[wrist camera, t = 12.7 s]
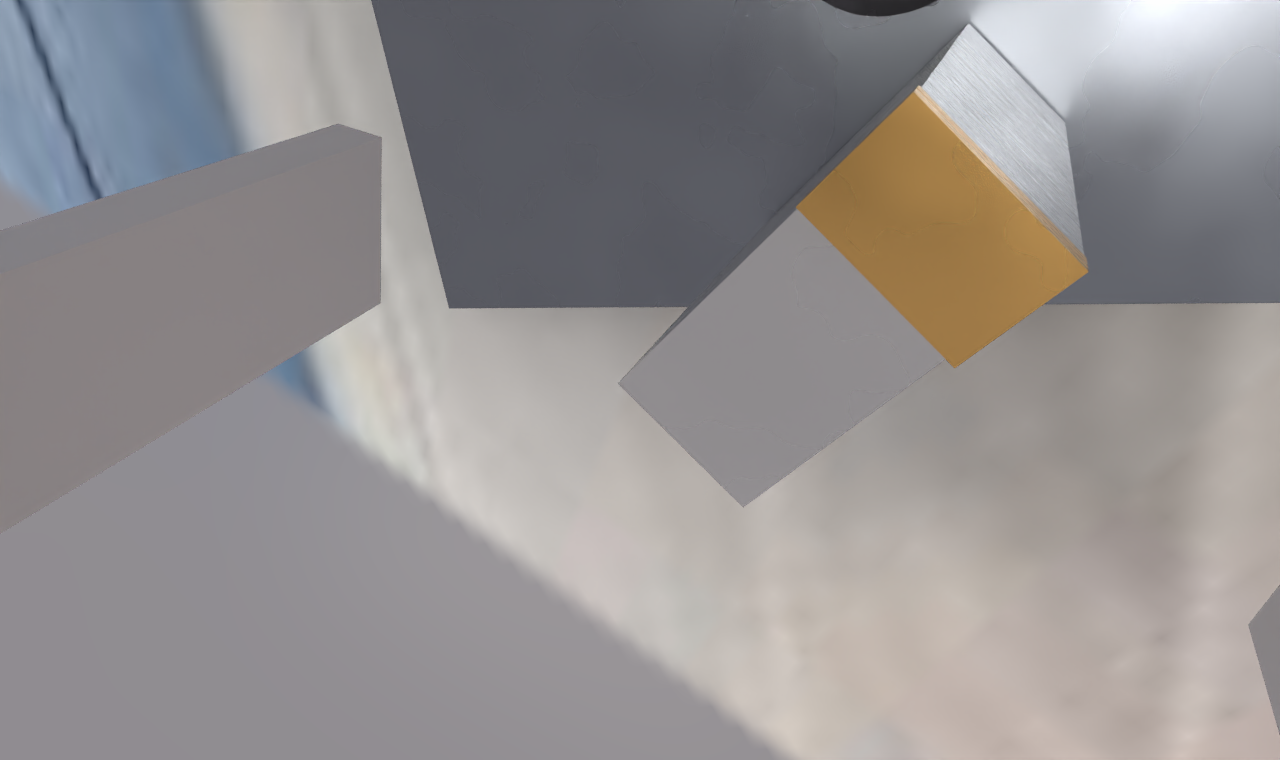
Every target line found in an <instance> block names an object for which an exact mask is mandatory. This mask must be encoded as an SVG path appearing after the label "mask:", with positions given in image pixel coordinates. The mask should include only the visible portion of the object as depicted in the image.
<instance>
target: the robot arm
mask: <svg viewBox="0 0 1280 760" xmlns="http://www.w3.org/2000/svg"><path fill="white" fill-rule="evenodd" d="M381 158H382V138H381V137H378V136H375V135H372V134H369V133H366V132H362V131H359V130H356V129H353V128H350V127H347V126H344V125H340V124H336V125H333V126H330V127H326V128H323V129H320V130H317V131H314V132H311V133H307V134H304V135H301V136H298V137H295V138H292V139H288V140H285V141H282V142H279V143H276V144H273V145H269V146H266V147H263V148H260V149H257V150H254V151H250V152H247V153H244V154H241V155H238V156H235V157H231V158H228V159H225V160H222V161H219V162H216V163H212V164H209V165H206V166H203V167H200V168H197V169H193V170H190V171H187V172H184V173H181V174H178V175H174V176H171V177H168V178H165V179H162V180H159V181H155V182H152V183H149V184H146V185H143V186H140V187H136V188H133V189H130V190H127V191H124V192H121V193H117V194H114V195H111V196H108V197H105V198H102V199H98V200H95V201H92V202H89V203H86V204H83V205H79V206H76V207H73V208H70V209H67V210H64V211H60V212H57V213H54V214H51V215H48V216H45V217H41V218H38V219H35V220H32V221H29V222H26V223H22V224H20V225H16V226H13V227H10V228H7V229H4V230H0V534H1V533H3V532H4V531H6V530H7V529H9V528H11V527H12V526H14V525H16V524H17V523H19V522H20V521H22V520H24V519H25V518H27V517H29V516H30V515H32V514H34V513H35V512H37V511H39V510H40V509H42V508H44V507H45V506H47V505H49V504H50V503H52V502H54V501H55V500H57V499H58V498H60V497H62V496H63V495H65V494H67V493H68V492H70V491H72V490H73V489H75V488H76V487H78V486H80V485H82V484H83V483H85V482H87V481H88V480H90V479H91V478H93V477H95V476H96V475H98V474H100V473H101V472H103V471H104V470H106V469H108V468H109V467H111V466H113V465H115V464H116V463H118V462H119V461H121V460H123V459H124V458H126V457H128V456H129V455H131V454H132V453H134V452H136V451H138V450H139V449H141V448H143V447H144V446H146V445H147V444H149V443H151V442H152V441H154V440H156V439H157V438H159V437H160V436H162V435H164V434H166V433H167V432H169V431H171V430H172V429H174V428H175V427H177V426H179V425H180V424H182V423H184V422H185V421H187V420H189V419H190V418H192V417H194V416H195V415H197V414H199V413H200V412H202V411H203V410H205V409H207V408H208V407H210V406H212V405H213V404H215V403H217V402H218V401H220V400H222V399H223V398H225V397H227V396H228V395H230V394H231V393H233V392H235V391H236V390H238V389H240V388H241V387H243V386H244V385H246V384H248V383H250V382H251V381H253V380H254V379H256V378H258V377H259V376H261V375H263V374H264V373H266V372H268V371H269V370H271V369H273V368H274V367H276V366H278V365H279V364H281V363H282V362H284V361H286V360H287V359H289V358H291V357H292V356H294V355H296V354H297V353H299V352H301V351H302V350H304V349H306V348H307V347H309V346H310V345H312V344H314V343H315V342H317V341H319V340H320V339H322V338H324V337H325V336H327V335H329V334H330V333H332V332H334V331H335V330H337V329H338V328H340V327H342V326H343V325H345V324H347V323H348V322H350V321H352V320H353V319H355V318H357V317H358V316H360V315H362V314H363V313H365V312H366V311H368V310H370V309H371V308H373V307H375V306H376V305H378V304H380V303H381ZM1248 626H1249V629H1250V633H1251V636H1252V639H1253V643H1254V646H1255V650H1256V653H1257V657H1258V660H1259V664H1260V667H1261V671H1262V674H1263V678H1264V681H1265V685H1266V688H1267V692H1268V695H1269V699H1270V702H1271V706H1272V709H1273V713H1274V716H1275V720H1276V723H1277V727H1278V730H1279V734H1280V585H1279V586H1278V588H1277V589H1276V590H1275V591H1274V593H1273V594H1272V595H1271V597H1270V598H1269V599H1268V600H1267V602H1266V603H1265V604H1264V605H1263V607H1262V608H1261V609H1260V611H1259V612H1258V613H1257V614H1256V616H1255V617H1254V618H1253V619H1252V621H1251V622H1250V623H1249V624H1248Z"/></svg>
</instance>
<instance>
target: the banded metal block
mask: <svg viewBox="0 0 1280 760" xmlns="http://www.w3.org/2000/svg"><path fill="white" fill-rule="evenodd" d="M1088 272H1089V270H1088V264H1087V258H1086V257H1085V256H1084V251H1083V244H1082V237H1081V230H1080V223H1079V216H1078V210H1077V203H1076V196H1075V189H1074V182H1073V175H1072V168H1071V161H1070V154H1069V147H1068V140H1067V133H1066V126H1065V122H1064V121H1063V120H1062V119H1061V118H1060V117H1059V116H1058V115H1057V114H1056V113H1055V112H1054V111H1053V110H1052V109H1051V108H1050V107H1049V106H1048V105H1047V104H1046V103H1045V101H1044V100H1043V99H1042V98H1041V97H1040V96H1039V95H1038V94H1037V93H1036V92H1035V91H1034V90H1033V89H1032V88H1031V87H1030V86H1029V85H1028V84H1027V83H1026V82H1025V81H1024V80H1023V79H1022V78H1021V77H1020V76H1019V75H1018V73H1017V72H1016V71H1015V70H1014V69H1013V68H1012V67H1011V66H1010V65H1009V64H1008V63H1007V62H1006V61H1005V60H1004V59H1003V58H1002V57H1001V56H1000V55H999V54H998V53H997V52H996V51H995V50H994V49H993V48H992V47H991V45H990V44H989V43H988V42H987V41H986V40H985V39H984V38H983V37H982V36H981V35H980V34H979V33H978V32H977V31H976V30H975V29H974V28H973V27H972V26H971V25H970V24H969V23H968V24H967V25H966V26H965V27H964V28H963V29H962V30H961V31H960V32H959V33H958V34H957V35H956V36H955V37H954V38H953V39H952V40H951V41H950V42H949V43H948V44H947V45H946V46H945V47H944V48H943V49H942V50H941V51H940V52H939V53H938V54H937V55H936V56H935V57H934V58H933V59H932V60H931V61H930V62H929V63H928V64H927V65H926V66H925V67H924V68H923V69H922V70H921V71H920V72H919V73H917V74H916V75H915V76H914V77H913V78H912V79H911V80H910V81H909V82H908V83H907V84H906V85H905V86H904V87H903V88H902V89H901V90H900V91H899V92H898V93H897V94H896V95H895V96H894V97H893V98H892V99H891V100H890V101H889V102H888V103H887V104H886V105H885V106H884V107H883V108H882V109H881V110H880V111H879V112H878V113H877V114H876V115H875V116H874V117H873V118H872V119H871V120H870V121H869V122H868V123H867V124H866V125H865V126H864V127H863V128H862V129H861V130H860V131H859V132H858V133H857V134H856V135H855V136H854V137H853V138H852V139H851V140H850V141H849V142H848V143H847V144H846V145H845V146H844V147H843V148H842V149H841V150H840V151H839V152H838V153H837V154H836V155H835V156H834V157H833V158H832V159H831V160H830V161H829V162H828V163H826V164H825V165H824V166H823V167H822V168H821V169H820V170H819V171H818V172H817V173H816V174H815V175H814V176H813V177H812V178H811V179H810V180H809V181H808V182H807V183H806V184H805V185H804V186H803V187H802V188H801V189H800V190H799V191H798V192H797V193H796V194H795V195H794V196H793V197H792V198H791V199H790V200H789V201H788V202H787V203H786V204H785V205H784V206H783V207H782V208H781V209H780V210H779V211H778V212H777V213H776V214H775V215H774V216H773V217H772V218H771V219H770V220H769V221H768V222H767V223H766V224H765V225H764V226H763V227H762V228H761V229H760V230H759V231H758V232H757V233H756V234H755V235H754V237H753V238H752V239H751V240H750V241H749V242H748V243H747V244H746V245H745V246H744V247H743V248H742V250H741V251H740V252H739V253H738V254H737V255H736V256H735V257H734V258H733V259H732V260H731V261H730V263H729V264H728V265H727V266H726V267H725V268H724V269H723V270H722V271H721V272H720V273H719V274H718V276H717V277H716V278H715V279H714V280H713V281H712V282H711V283H710V284H709V285H708V286H707V287H706V289H705V290H704V291H703V292H702V293H701V294H700V295H699V296H698V297H697V298H696V299H695V300H694V302H693V303H692V304H691V305H690V306H689V307H688V308H687V309H686V310H685V311H684V312H683V313H682V315H681V316H680V317H679V318H678V319H677V320H676V321H675V322H674V323H673V324H672V325H671V327H670V328H669V329H668V330H667V331H666V332H665V333H664V334H663V335H662V336H661V337H660V338H659V340H658V341H657V342H656V343H655V344H654V345H653V346H652V347H651V348H650V349H649V350H648V351H647V353H646V354H645V355H644V356H643V357H642V358H641V359H640V360H639V361H638V362H637V363H636V364H635V366H634V367H633V368H632V369H631V370H630V371H629V372H628V373H627V374H626V375H625V376H624V377H623V379H622V380H621V381H620V382H619V383H618V384H619V385H620V386H621V387H622V388H623V389H624V390H625V391H626V392H627V393H628V394H629V395H630V396H631V397H632V398H633V399H634V400H635V401H636V402H637V403H638V404H639V405H640V406H641V407H642V408H643V409H644V410H645V411H646V412H647V413H649V414H650V415H651V416H652V417H653V418H654V419H655V420H656V421H657V422H658V423H659V424H660V425H661V426H662V427H663V428H664V429H665V430H666V431H667V432H668V433H669V434H670V435H671V436H672V437H673V438H674V439H675V440H676V441H677V442H678V443H679V444H680V445H681V446H682V447H683V448H684V449H685V450H686V451H687V452H688V453H689V454H690V455H691V456H692V457H693V458H694V459H695V460H696V461H697V462H698V463H699V464H700V465H701V466H702V467H703V468H704V469H705V470H706V471H707V472H708V473H709V474H710V475H711V476H712V477H713V478H714V479H715V480H716V481H717V482H718V483H719V484H720V485H721V486H722V487H723V488H724V489H725V490H726V491H727V492H728V493H729V494H730V495H731V496H732V497H733V498H734V499H735V500H736V501H737V502H738V503H739V504H740V505H741V506H742V507H744V506H746V505H747V504H748V503H750V502H751V501H752V500H754V499H755V498H757V497H758V496H759V495H761V494H762V493H763V492H765V491H766V490H767V489H769V488H770V487H772V486H773V485H774V484H776V483H777V482H778V481H780V480H781V479H782V478H784V477H785V476H787V475H788V474H789V473H791V472H792V471H793V470H795V469H796V468H797V467H799V466H800V465H802V464H803V463H804V462H806V461H807V460H808V459H810V458H811V457H812V456H814V455H815V454H817V453H818V452H819V451H821V450H822V449H823V448H825V447H826V446H827V445H829V444H830V443H832V442H833V441H834V440H836V439H837V438H838V437H840V436H841V435H843V434H844V433H845V432H847V431H848V430H849V429H851V428H852V427H853V426H855V425H856V424H858V423H859V422H860V421H862V420H863V419H864V418H866V417H867V416H868V415H870V414H871V413H873V412H874V411H875V410H877V409H878V408H879V407H881V406H882V405H883V404H885V403H886V402H888V401H889V400H890V399H892V398H893V397H894V396H896V395H897V394H898V393H900V392H901V391H903V390H904V389H905V388H907V387H908V386H909V385H911V384H912V383H914V382H915V381H916V380H918V379H919V378H920V377H922V376H923V375H924V374H926V373H927V372H929V371H930V370H931V369H933V368H934V367H935V366H937V365H938V364H939V363H941V362H942V361H944V360H945V359H946V360H947V361H948V362H949V363H950V364H951V365H952V366H953V367H954V368H956V367H957V366H959V365H960V364H961V363H963V362H964V361H965V360H967V359H968V358H970V357H971V356H972V355H974V354H975V353H977V352H978V351H979V350H981V349H982V348H984V347H985V346H986V345H988V344H989V343H990V342H992V341H993V340H995V339H996V338H997V337H999V336H1000V335H1002V334H1003V333H1004V332H1006V331H1007V330H1009V329H1010V328H1011V327H1013V326H1014V325H1016V324H1017V323H1018V322H1020V321H1021V320H1022V319H1024V318H1025V317H1027V316H1028V315H1029V314H1031V313H1032V312H1034V311H1035V310H1036V309H1038V308H1039V307H1041V306H1042V305H1043V304H1045V303H1046V302H1047V301H1049V300H1050V299H1052V298H1053V297H1054V296H1056V295H1057V294H1059V293H1060V292H1061V291H1063V290H1064V289H1066V288H1067V287H1068V286H1070V285H1071V284H1072V283H1074V282H1075V281H1077V280H1078V279H1079V278H1081V277H1082V276H1084V275H1085V274H1086V273H1088Z"/></svg>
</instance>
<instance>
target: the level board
mask: <svg viewBox="0 0 1280 760" xmlns="http://www.w3.org/2000/svg"><path fill="white" fill-rule="evenodd" d="M371 1H372V5H373V8H374V12H375V16H376V20H377V24H378V28H379V32H380V36H381V40H382V44H383V48H384V52H385V56H386V60H387V64H388V68H389V72H390V76H391V80H392V84H393V88H394V92H395V96H396V99H397V103H398V107H399V111H400V115H401V119H402V123H403V127H404V131H405V135H406V139H407V143H408V147H409V151H410V155H411V159H412V163H413V167H414V171H415V175H416V179H417V183H418V187H419V191H420V194H421V198H422V202H423V206H424V210H425V214H426V218H427V222H428V226H429V230H430V234H431V238H432V242H433V246H434V250H435V254H436V258H437V262H438V266H439V270H440V274H441V278H442V282H443V286H444V289H445V293H446V297H447V301H448V305H449V308H561V307H689V306H690V305H691V304H692V303H693V302H694V300H695V299H696V298H697V297H698V296H699V295H700V294H701V293H702V292H703V291H704V290H705V289H706V287H707V286H708V285H709V284H710V283H711V282H712V281H713V280H714V279H715V278H716V277H717V276H718V274H719V273H720V272H721V271H722V270H723V269H724V268H725V267H726V266H727V265H728V264H729V263H730V261H731V260H732V259H733V258H734V257H735V256H736V255H737V254H738V253H739V252H740V251H741V250H742V248H743V247H744V246H745V245H746V244H747V243H748V242H749V241H750V240H751V239H752V238H753V237H754V235H755V234H756V233H757V232H758V231H759V230H760V229H761V228H762V227H763V226H764V225H765V224H766V223H767V222H768V221H769V220H770V219H771V218H772V217H773V216H774V215H775V214H776V213H777V212H778V211H779V210H780V209H781V208H782V207H783V206H784V205H785V204H786V203H787V202H788V201H789V200H790V199H791V198H792V197H793V196H794V195H795V194H796V193H797V192H798V191H799V190H800V189H801V188H802V187H803V186H804V185H805V184H806V183H807V182H808V181H809V180H810V179H811V178H812V177H813V176H814V175H815V174H816V173H817V172H818V171H819V170H820V169H821V168H822V167H823V166H824V165H825V164H826V163H828V162H829V161H830V160H831V159H832V158H833V157H834V156H835V155H836V154H837V153H838V152H839V151H840V150H841V149H842V148H843V147H844V146H845V145H846V144H847V143H848V142H849V141H850V140H851V139H852V138H853V137H854V136H855V135H856V134H857V133H858V132H859V131H860V130H861V129H862V128H863V127H864V126H865V125H866V124H867V123H868V122H869V121H870V120H871V119H872V118H873V117H874V116H875V115H876V114H877V113H878V112H879V111H880V110H881V109H882V108H883V107H884V106H885V105H886V104H887V103H888V102H889V101H890V100H891V99H892V98H893V97H894V96H895V95H896V94H897V93H898V92H899V91H900V90H901V89H902V88H903V87H904V86H905V85H906V84H907V83H908V82H909V81H910V80H911V79H912V78H913V77H914V76H915V75H916V74H917V73H919V72H920V71H921V70H922V69H923V68H924V67H925V66H926V65H927V64H928V63H929V62H930V61H931V60H932V59H933V58H934V57H935V56H936V55H937V54H938V53H939V52H940V51H941V50H942V49H943V48H944V47H945V46H946V45H947V44H948V43H949V42H950V41H951V40H952V39H953V38H954V37H955V36H956V35H957V34H958V33H959V32H960V31H961V30H962V29H963V28H964V27H965V26H966V25H967V24H968V23H969V24H970V25H971V26H972V27H973V28H974V29H975V30H976V31H977V32H978V33H979V34H980V35H981V36H982V37H983V38H984V39H985V40H986V41H987V42H988V43H989V44H990V45H991V47H992V48H993V49H994V50H995V51H996V52H997V53H998V54H999V55H1000V56H1001V57H1002V58H1003V59H1004V60H1005V61H1006V62H1007V63H1008V64H1009V65H1010V66H1011V67H1012V68H1013V69H1014V70H1015V71H1016V72H1017V73H1018V75H1019V76H1020V77H1021V78H1022V79H1023V80H1024V81H1025V82H1026V83H1027V84H1028V85H1029V86H1030V87H1031V88H1032V89H1033V90H1034V91H1035V92H1036V93H1037V94H1038V95H1039V96H1040V97H1041V98H1042V99H1043V100H1044V101H1045V103H1046V104H1047V105H1048V106H1049V107H1050V108H1051V109H1052V110H1053V111H1054V112H1055V113H1056V114H1057V115H1058V116H1059V117H1060V118H1061V119H1062V120H1063V121H1064V122H1065V126H1066V133H1067V140H1068V147H1069V154H1070V161H1071V168H1072V175H1073V182H1074V189H1075V196H1076V203H1077V210H1078V216H1079V223H1080V230H1081V237H1082V244H1083V251H1084V256H1085V257H1086V258H1087V264H1088V270H1089V272H1088V273H1086V274H1085V275H1084V276H1082V277H1081V278H1079V279H1078V280H1077V281H1075V282H1074V283H1072V284H1071V285H1070V286H1068V287H1067V288H1066V289H1064V290H1063V291H1061V292H1060V293H1059V294H1057V295H1056V296H1054V297H1053V298H1052V299H1050V300H1049V301H1047V302H1046V303H1045V304H1162V303H1280V0H371Z"/></svg>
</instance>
